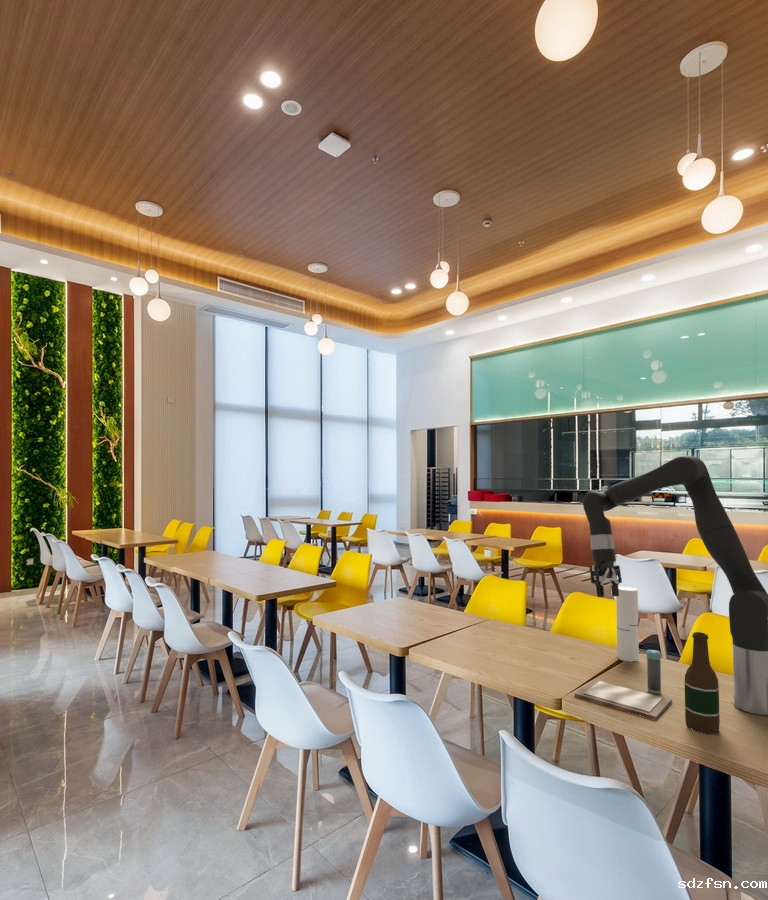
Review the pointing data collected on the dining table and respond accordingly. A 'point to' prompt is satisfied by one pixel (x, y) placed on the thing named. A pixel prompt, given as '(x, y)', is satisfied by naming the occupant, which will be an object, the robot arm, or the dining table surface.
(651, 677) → the teal-capped glass tube
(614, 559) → the robot arm
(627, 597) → the cylindrical container
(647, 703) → the writing board
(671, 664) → the dining table surface
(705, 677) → the beer bottle
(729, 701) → the dining table surface
